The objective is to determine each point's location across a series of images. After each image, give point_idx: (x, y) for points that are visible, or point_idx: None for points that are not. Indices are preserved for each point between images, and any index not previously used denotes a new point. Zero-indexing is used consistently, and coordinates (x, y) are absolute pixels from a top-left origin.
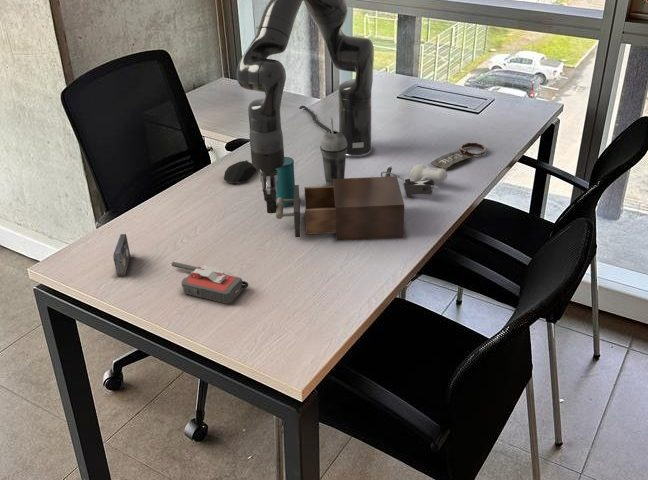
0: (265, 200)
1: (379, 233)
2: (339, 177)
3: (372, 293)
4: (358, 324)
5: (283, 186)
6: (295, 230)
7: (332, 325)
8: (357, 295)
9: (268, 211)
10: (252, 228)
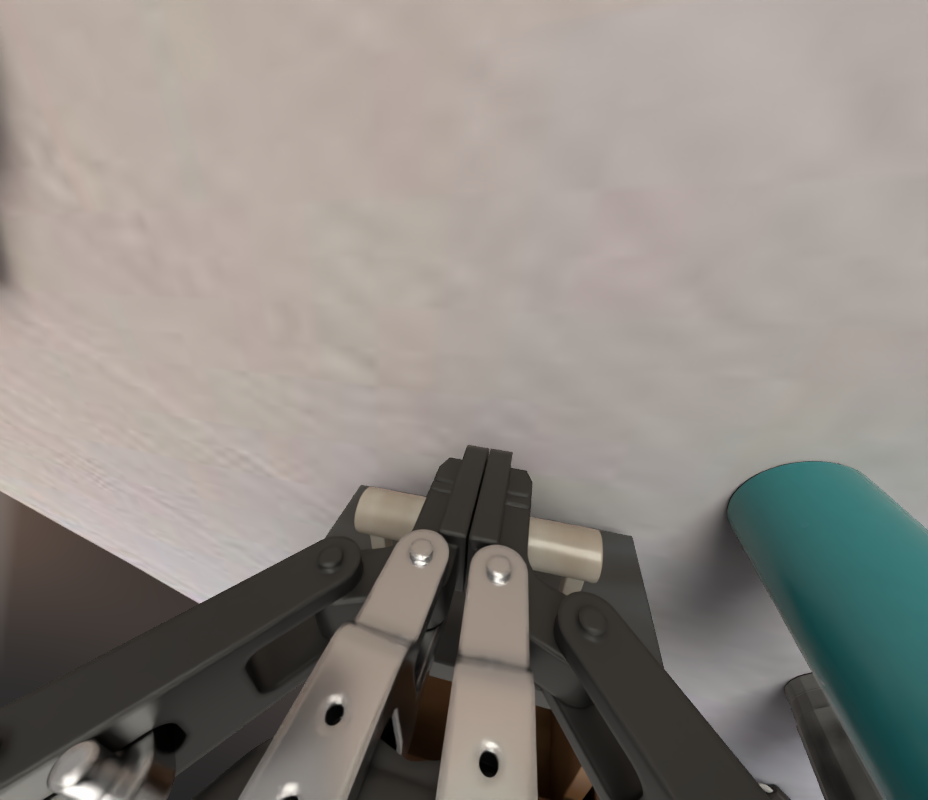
0: (303, 553)
1: None
2: (817, 779)
3: (156, 565)
4: (44, 515)
5: (824, 633)
6: (342, 514)
7: (9, 472)
8: (136, 541)
9: (466, 456)
10: (511, 287)
